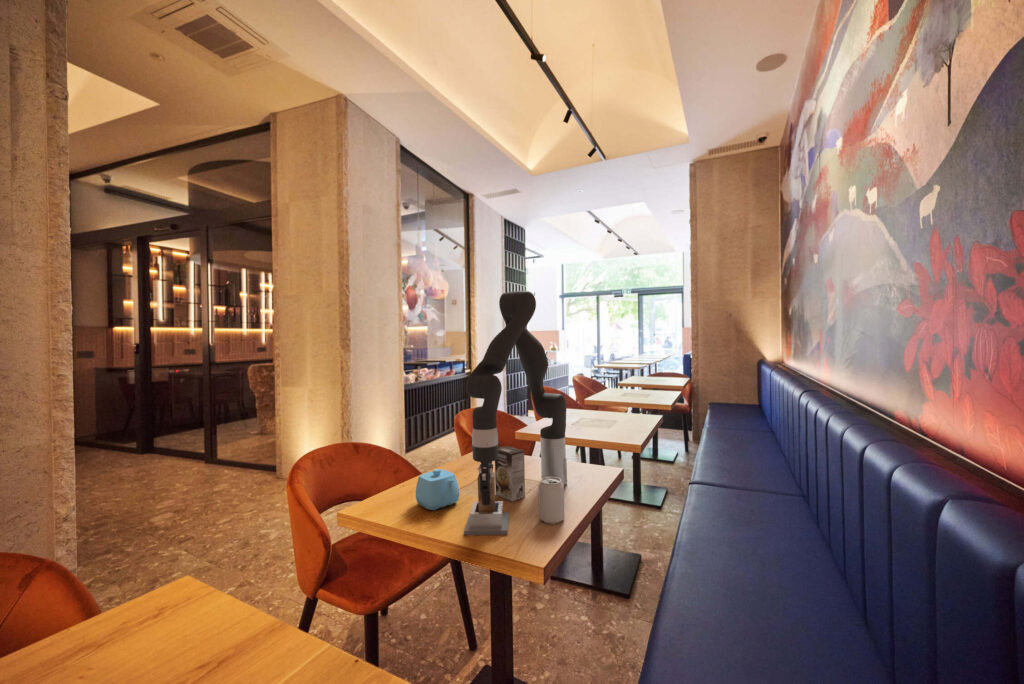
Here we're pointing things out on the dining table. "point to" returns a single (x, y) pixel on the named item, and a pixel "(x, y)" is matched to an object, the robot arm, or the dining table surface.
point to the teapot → (437, 489)
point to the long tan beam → (492, 497)
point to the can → (551, 500)
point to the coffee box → (510, 473)
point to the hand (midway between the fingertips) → (486, 500)
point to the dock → (487, 521)
